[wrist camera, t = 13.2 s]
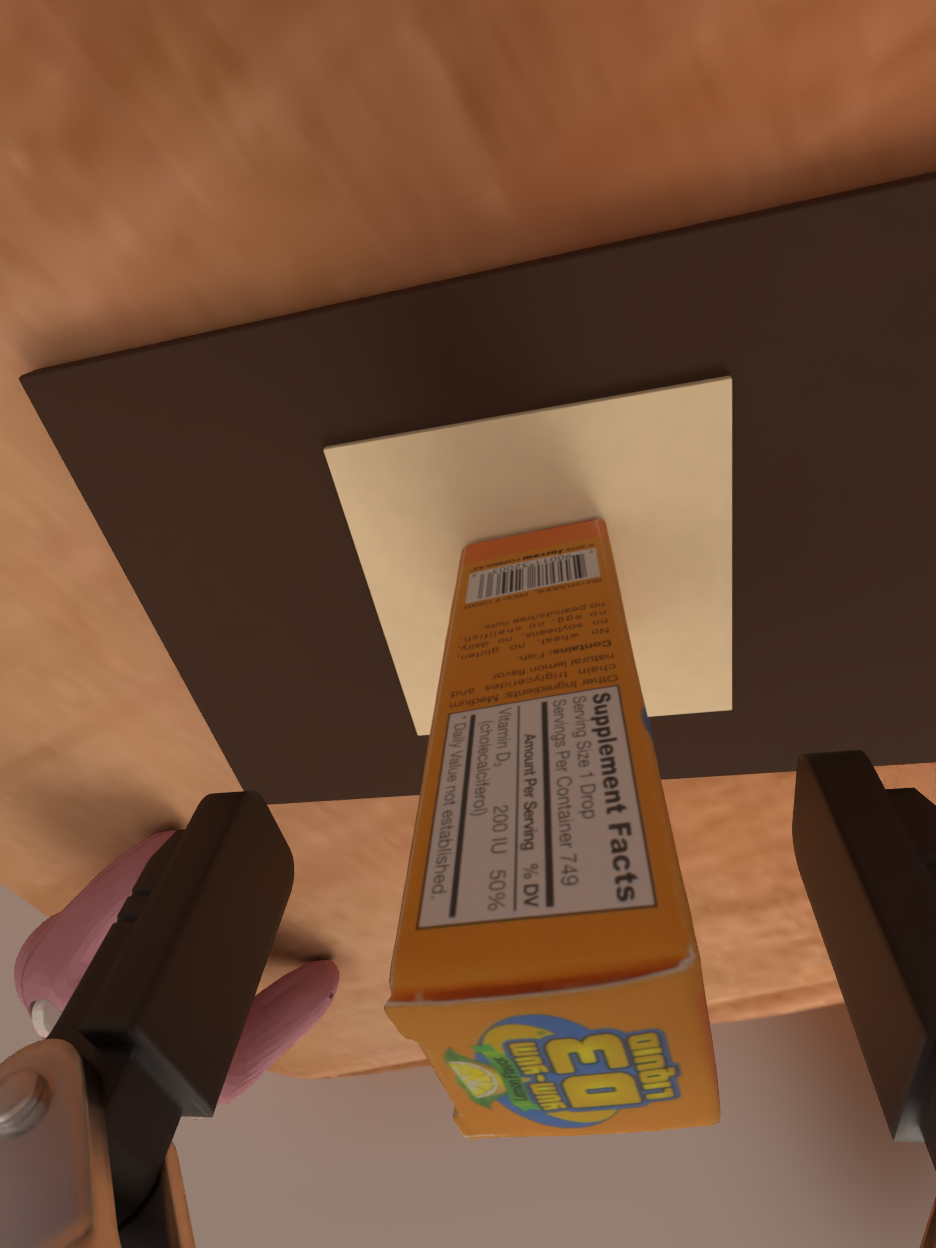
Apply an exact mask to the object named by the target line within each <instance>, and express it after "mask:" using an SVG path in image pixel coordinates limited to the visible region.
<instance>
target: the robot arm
mask: <svg viewBox="0 0 936 1248" xmlns="http://www.w3.org/2000/svg"><path fill="white" fill-rule="evenodd" d="M792 836H793V845H794V851H795V856H796V861H797V865H798V868H799V872H800V875H801V878H802V880H803V883H804V886H805V889H806V892H807V895H808V898H809V900H810V903H811V906H812V909H813V912H814V915H815V918H816V921H817V923H818V926H819V929H820V932H821V935H822V938H823V941H824V943H825V946H826V949H827V952H828V955H829V958H830V961H831V964H832V966H833V969H834V972H835V975H836V978H837V981H838V984H839V986H840V989H841V992H842V995H843V998H844V1001H845V1004H846V1006H847V1009H848V1012H849V1015H850V1018H851V1021H852V1024H853V1026H854V1029H855V1032H856V1035H857V1038H858V1041H859V1044H860V1047H861V1050H862V1052H863V1055H864V1058H865V1061H866V1064H867V1067H868V1069H869V1072H870V1075H871V1078H872V1081H873V1084H874V1087H875V1090H876V1092H877V1095H878V1098H879V1101H880V1104H881V1107H882V1109H883V1112H884V1115H885V1118H886V1121H887V1124H888V1127H889V1130H890V1132H891V1136H892V1138H893V1141H911V1142H925V1144H926V1146H927V1149H928V1151H929V1154H930V1157H931V1160H932V1162H933V1165H934V1167H935V1170H936V806H935V805H934V804H933V803H932V802H931V801H929V800H928V799H927V798H926V797H925V796H923V795H922V794H921V793H920V792H919V791H918V790H916V789H915V788H899V789H885V788H884V786H883V784H882V782H881V780H880V778H879V776H878V774H877V773H876V771H875V769H874V767H873V765H872V763H871V761H870V760H869V758H868V756H867V755H866V754H865V753H864V752H863V751H861V750H849V751H835V752H821V753H807V754H801V755H800V756H799V758H798V763H797V774H796V786H795V798H794V810H793V822H792ZM293 880H294V861H293V856H292V853H291V850H290V848H289V846H288V844H287V842H286V840H285V838H284V836H283V835H282V833H281V831H280V829H279V827H278V825H277V823H276V821H275V819H274V818H273V816H272V814H271V812H270V810H269V808H268V806H267V804H266V802H265V800H264V799H263V797H262V796H261V795H260V793H258V792H257V791H243V792H228V793H214V794H209V795H207V796H205V797H204V798H203V799H202V800H201V802H200V803H199V805H198V807H197V809H196V811H195V812H194V814H193V816H192V818H191V820H190V822H189V824H188V825H187V827H186V829H183V830H176V831H175V832H174V833H173V835H172V836H171V837H170V838H169V839H168V840H167V841H166V842H165V843H164V844H163V845H162V846H161V847H160V848H159V849H158V850H157V851H156V852H155V853H154V854H153V855H152V856H151V857H150V858H149V860H148V862H147V864H146V866H145V867H144V869H143V871H142V873H141V874H140V876H139V878H138V880H137V881H136V883H135V885H134V887H133V889H132V895H131V896H128V897H127V899H126V901H125V903H124V904H123V906H122V908H121V910H120V911H119V913H118V915H117V922H116V923H113V924H112V926H111V927H110V929H109V931H108V933H107V934H106V936H105V938H104V940H103V941H102V943H101V945H100V947H99V949H98V950H97V952H96V954H95V956H94V957H93V959H92V961H91V963H90V964H89V966H88V968H87V970H86V972H85V973H84V975H83V977H82V979H81V980H80V982H79V984H78V986H77V987H76V989H75V991H74V993H73V994H72V996H71V998H70V1000H69V1002H68V1003H67V1005H66V1007H65V1009H64V1010H63V1012H62V1014H61V1016H60V1017H59V1019H58V1021H57V1023H56V1024H55V1026H54V1027H53V1029H52V1031H51V1032H50V1034H49V1035H48V1036H47V1038H46V1039H45V1040H41V1041H38V1042H35V1043H32V1044H30V1045H28V1046H26V1047H24V1048H22V1049H20V1050H18V1051H17V1052H15V1053H14V1054H12V1055H11V1056H10V1057H8V1058H7V1059H6V1060H4V1062H2V1063H1V1064H0V1248H196V1247H195V1242H194V1237H193V1232H192V1226H191V1221H190V1216H189V1211H188V1206H187V1200H186V1195H185V1190H184V1185H183V1180H182V1175H181V1169H180V1165H179V1159H178V1154H177V1151H176V1147H175V1146H174V1144H173V1142H172V1139H173V1136H174V1134H175V1130H176V1128H177V1126H178V1123H179V1120H180V1118H181V1116H186V1117H213V1114H214V1111H215V1108H216V1105H217V1102H218V1099H219V1097H220V1094H221V1091H222V1088H223V1085H224V1082H225V1079H226V1077H227V1074H228V1071H229V1068H230V1065H231V1062H232V1059H233V1056H234V1054H235V1051H236V1048H237V1045H238V1042H239V1039H240V1036H241V1034H242V1031H243V1028H244V1025H245V1022H246V1019H247V1016H248V1013H249V1011H250V1008H251V1005H252V1002H253V999H254V996H255V993H256V991H257V988H258V985H259V982H260V979H261V976H262V973H263V971H264V968H265V965H266V962H267V959H268V956H269V953H270V950H271V948H272V945H273V942H274V939H275V936H276V933H277V930H278V928H279V925H280V922H281V919H282V916H283V913H284V910H285V907H286V905H287V902H288V899H289V896H290V893H291V890H292V886H293ZM920 1248H936V1198H935V1201H934V1204H933V1207H932V1210H931V1214H930V1218H929V1220H928V1223H927V1226H926V1230H925V1233H924V1236H923V1240H922V1243H921V1246H920Z"/></svg>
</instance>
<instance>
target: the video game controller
mask: <svg viewBox="0 0 936 1248" xmlns="http://www.w3.org/2000/svg"><path fill="white" fill-rule="evenodd" d="M174 832H175V830H171V831H165V832H161V833H157V834H155V835H153V836H151V837H148V838H147V839H145V840H143V841H141V842H140V843H138V844H136V845H135V846H133V847H132V848H130V849H129V850H128V851H126V852H125V853H123V854H122V855H121V856H119V857H118V858H117V859H116V860H114V861H113V862H112V863H111V864H110V865H108V866H107V867H106V868H105V869H104V870H102V871H101V872H100V873H99V874H98V875H97V876H96V877H95V878H94V879H93V880H92V881H91V882H90V883H89V884H88V885H87V886H86V887H85V888H84V889H83V890H82V891H81V892H80V893H79V894H78V895H77V896H76V897H75V898H74V899H73V900H72V901H71V902H70V903H69V904H68V905H67V906H66V907H65V908H64V909H63V910H62V911H61V912H59V913H57V914H55V915H53V916H51V917H50V918H49V919H47V920H46V921H44V922H43V923H42V924H41V925H40V926H39V927H38V928H36V929H35V930H34V931H33V933H32V934H31V935H30V936H29V937H28V939H27V940H26V941H25V943H24V944H23V946H22V947H21V949H20V952H19V954H18V956H17V959H16V963H15V968H14V980H15V986H16V991H17V993H18V995H19V998H20V999H21V1001H22V1003H23V1005H24V1006H25V1008H26V1010H27V1011H28V1013H29V1015H30V1017H31V1019H32V1022H33V1024H34V1027H35V1029H36V1031H37V1033H38V1034H39V1035H40V1036H41V1037H42V1039H43V1040H45V1039H46V1038H47V1036H48V1035H49V1034H50V1032H51V1031H52V1029H53V1027H54V1026H55V1024H56V1023H57V1021H58V1019H59V1017H60V1016H61V1014H62V1012H63V1010H64V1009H65V1007H66V1005H67V1003H68V1002H69V1000H70V998H71V996H72V994H73V993H74V991H75V989H76V987H77V986H78V984H79V982H80V980H81V979H82V977H83V975H84V973H85V972H86V970H87V968H88V966H89V964H90V963H91V961H92V959H93V957H94V956H95V954H96V952H97V950H98V949H99V947H100V945H101V943H102V941H103V940H104V938H105V936H106V934H107V933H108V931H109V929H110V927H111V926H112V924H113V923H116V922H117V915H118V913H119V911H120V910H121V908H122V906H123V904H124V903H125V901H126V899H127V897H128V896H131V895H132V889H133V887H134V885H135V883H136V881H137V880H138V878H139V876H140V874H141V873H142V871H143V869H144V867H145V866H146V864H147V862H148V860H149V858H150V857H151V856H152V855H153V854H154V853H155V852H156V851H157V850H158V849H159V848H160V847H161V846H162V845H163V844H164V843H165V842H166V841H167V840H168V839H169V838H170V837H171V836H172V835H173V833H174ZM338 983H339V971H338V968H337V966H336V965H335V964H334V963H333V962H332V961H330V960H319V961H314V962H310V963H307V964H305V965H303V966H301V967H299V968H297V969H295V970H293V971H291V972H290V973H288V974H286V975H284V976H283V977H281V978H280V979H278V980H277V981H276V982H274V983H273V984H271V985H270V986H268V987H267V988H266V989H264V990H263V991H261V992H260V993H259V994H257V995H256V996H255V997H254V999H253V1002H252V1005H251V1008H250V1011H249V1013H248V1016H247V1019H246V1022H245V1025H244V1028H243V1031H242V1034H241V1036H240V1039H239V1042H238V1045H237V1048H236V1051H235V1054H234V1056H233V1059H232V1062H231V1065H230V1068H229V1071H228V1074H227V1077H226V1079H225V1082H224V1085H223V1088H222V1091H221V1094H220V1097H219V1099H218V1102H217V1105H216V1106H218V1105H223V1104H228V1103H230V1102H232V1101H233V1100H235V1099H236V1098H237V1097H238V1096H240V1095H241V1094H242V1093H243V1092H244V1091H246V1090H247V1089H248V1088H249V1087H250V1086H251V1085H252V1084H253V1083H254V1082H255V1081H256V1080H257V1079H258V1078H259V1077H260V1076H261V1075H262V1074H263V1073H264V1072H265V1071H266V1070H267V1069H268V1068H269V1067H270V1066H271V1065H272V1064H273V1063H274V1062H275V1061H277V1060H278V1059H279V1058H280V1057H281V1056H282V1055H283V1054H284V1053H285V1052H286V1051H287V1050H289V1049H290V1048H291V1047H292V1046H293V1045H294V1044H295V1043H296V1042H297V1041H298V1040H299V1039H301V1038H302V1037H303V1036H304V1035H305V1034H306V1033H307V1032H308V1031H309V1030H310V1029H311V1028H312V1027H313V1026H314V1025H315V1024H316V1023H317V1022H318V1021H319V1020H320V1019H321V1018H322V1016H323V1015H324V1014H325V1012H326V1010H327V1009H328V1007H329V1005H330V1003H331V1002H332V1000H333V998H334V996H335V993H336V991H337V987H338ZM189 1118H190V1119H193V1120H199V1119H202V1118H204V1117H189Z"/></svg>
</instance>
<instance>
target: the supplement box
mask: <svg viewBox="0 0 936 1248" xmlns="http://www.w3.org/2000/svg"><path fill="white" fill-rule="evenodd" d="M389 983H390V988H391V997H390V998H389V1000H388V1001H387V1003H386V1004H385V1006H384V1010H385V1012H386V1014H387V1015H388V1017H389V1018H390V1020H391V1021H392V1023H393V1024H394V1025H395V1027H396V1028H397V1030H398V1031H399V1032H400V1033H401V1034H402V1035H403V1036H404V1037H405V1038H406V1039H410V1040H413V1041H415V1042H416V1043H417V1044H418V1045H419V1046H420V1047H421V1049H422V1051H423V1052H424V1054H425V1055H426V1057H427V1059H428V1060H429V1062H430V1064H431V1066H432V1067H433V1069H434V1071H435V1073H436V1075H437V1077H438V1078H439V1080H440V1082H441V1083H442V1085H443V1087H444V1088H445V1090H446V1092H447V1093H448V1095H449V1097H450V1099H451V1100H452V1102H453V1104H454V1112H453V1118H454V1121H455V1123H456V1124H457V1125H458V1127H459V1130H460V1132H461V1134H462V1135H463V1136H464V1137H465V1138H466V1139H478V1138H499V1137H525V1136H574V1135H595V1134H615V1133H629V1132H643V1131H659V1130H667V1129H677V1128H685V1127H699V1126H711V1125H715V1124H717V1123H718V1122H719V1119H720V1099H719V1090H718V1080H717V1071H716V1063H715V1056H714V1049H713V1042H712V1035H711V1029H710V1022H709V1016H708V1010H707V1004H706V997H705V991H704V984H703V977H702V970H701V960H700V955H699V951H698V946H697V942H696V937H695V933H694V928H693V922H692V917H691V912H690V907H689V903H688V899H687V895H686V891H685V887H684V883H683V879H682V875H681V870H680V866H679V861H678V856H677V852H676V847H675V843H674V838H673V833H672V829H671V824H670V820H669V815H668V810H667V806H666V801H665V797H664V792H663V787H662V783H661V778H660V774H659V769H658V764H657V759H656V754H655V749H654V744H653V739H652V734H651V729H650V724H649V719H648V715H647V711H646V707H645V703H644V699H643V695H642V690H641V686H640V681H639V677H638V672H637V668H636V664H635V659H634V655H633V650H632V645H631V640H630V636H629V631H628V626H627V622H626V617H625V612H624V607H623V602H622V597H621V591H620V586H619V582H618V577H617V572H616V567H615V562H614V558H613V553H612V549H611V544H610V540H609V535H608V531H607V526H606V522H605V521H604V520H603V519H602V518H592V519H587V520H584V521H578V522H573V523H569V524H564V525H559V526H555V527H551V528H546V529H541V530H537V531H533V532H529V533H524V534H520V535H515V536H510V537H506V538H501V539H495V540H490V541H485V542H480V543H475V544H470V545H466V546H465V547H464V548H463V549H462V551H461V556H460V562H459V568H458V574H457V580H456V586H455V590H454V595H453V600H452V606H451V612H450V618H449V624H448V630H447V635H446V639H445V647H444V653H443V659H442V665H441V671H440V677H439V683H438V688H437V695H436V701H435V707H434V713H433V718H432V724H431V730H430V736H429V742H428V748H427V754H426V760H425V767H424V773H423V779H422V786H421V792H420V798H419V804H418V810H417V815H416V821H415V827H414V833H413V840H412V845H411V851H410V857H409V863H408V870H407V876H406V882H405V887H404V892H403V899H402V905H401V911H400V917H399V924H398V930H397V935H396V941H395V946H394V951H393V957H392V962H391V969H390V980H389Z"/></svg>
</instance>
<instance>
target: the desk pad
mask: <svg viewBox="0 0 936 1248" xmlns="http://www.w3.org/2000/svg"><path fill="white" fill-rule="evenodd" d="M19 380H20V382H21V384H22V386H23V388H24V390H25V391H26V393H27V395H28V397H29V399H30V401H31V402H32V404H33V406H34V408H35V410H36V412H37V413H38V415H39V417H40V419H41V421H42V423H43V424H44V426H45V428H46V430H47V432H48V434H49V435H50V437H51V439H52V441H53V443H54V445H55V446H56V448H57V450H58V452H59V454H60V455H61V457H62V459H63V461H64V463H65V465H66V466H67V468H68V470H69V472H70V474H71V476H72V477H73V479H74V481H75V483H76V485H77V487H78V488H79V490H80V492H81V494H82V496H83V498H84V499H85V501H86V503H87V505H88V507H89V509H90V510H91V512H92V514H93V516H94V518H95V520H96V521H97V523H98V525H99V527H100V529H101V530H102V532H103V534H104V536H105V538H106V540H107V541H108V543H109V545H110V547H111V549H112V551H113V552H114V554H115V556H116V558H117V560H118V562H119V563H120V565H121V567H122V569H123V571H124V573H125V574H126V576H127V578H128V580H129V582H130V584H131V585H132V587H133V589H134V591H135V593H136V595H137V596H138V598H139V600H140V602H141V604H142V605H143V607H144V609H145V611H146V613H147V615H148V616H149V618H150V620H151V622H152V624H153V626H154V627H155V629H156V631H157V633H158V635H159V637H160V638H161V640H162V642H163V644H164V646H165V648H166V649H167V651H168V653H169V655H170V657H171V659H172V660H173V662H174V664H175V666H176V668H177V670H178V671H179V673H180V675H181V677H182V679H183V680H184V682H185V684H186V686H187V688H188V690H189V691H190V693H191V695H192V697H193V699H194V701H195V702H196V704H197V706H198V708H199V710H200V712H201V713H202V715H203V717H204V719H205V721H206V723H207V724H208V726H209V728H210V730H211V732H212V734H213V735H214V737H215V739H216V741H217V743H218V744H219V746H220V748H221V750H222V752H223V754H224V755H225V757H226V759H227V761H228V763H229V765H230V766H231V768H232V770H233V772H234V774H235V776H236V777H237V779H238V781H239V783H240V785H241V787H242V788H243V790H244V791H257V792H258V793H260V795H261V796H262V797H263V799H264V800H265V802H266V804H267V805H268V804H284V803H299V802H315V801H331V800H347V799H363V798H378V797H394V796H410V795H420V792H421V786H422V779H423V773H424V767H425V760H426V754H427V748H428V742H429V736H430V730H431V724H432V718H433V713H434V707H435V701H436V695H437V688H438V683H439V677H440V671H441V665H442V659H443V653H444V647H445V639H446V635H447V630H448V624H449V618H450V612H451V606H452V600H453V595H454V590H455V586H456V580H457V574H458V568H459V562H460V556H461V551H462V549H463V548H464V547H465V546H466V545H470V544H475V543H480V542H485V541H490V540H495V539H501V538H506V537H510V536H515V535H520V534H524V533H529V532H533V531H537V530H541V529H546V528H551V527H555V526H559V525H564V524H569V523H573V522H578V521H584V520H587V519H592V518H602V519H603V520H604V521H605V522H606V526H607V531H608V535H609V540H610V544H611V549H612V553H613V558H614V562H615V567H616V572H617V577H618V582H619V586H620V591H621V597H622V602H623V607H624V612H625V617H626V622H627V626H628V631H629V636H630V640H631V645H632V650H633V655H634V659H635V664H636V668H637V672H638V677H639V681H640V686H641V690H642V695H643V699H644V703H645V707H646V711H647V715H648V719H649V724H650V729H651V734H652V739H653V744H654V749H655V754H656V759H657V764H658V769H659V774H660V778H661V780H663V779H679V778H694V777H710V776H726V775H742V774H758V773H774V772H789V771H797V763H798V758H799V756H800V755H801V754H807V753H821V752H835V751H849V750H861V751H863V752H864V753H865V754H866V755H867V756H868V758H869V760H870V761H871V763H872V765H873V766H884V765H900V764H916V763H932V762H936V172H933V173H928V174H924V175H919V176H915V177H910V178H906V179H901V180H897V181H892V182H888V183H883V184H878V185H874V186H869V187H865V188H860V189H856V190H851V191H847V192H842V193H838V194H833V195H828V196H824V197H819V198H815V199H810V200H806V201H801V202H797V203H792V204H788V205H783V206H778V207H774V208H769V209H765V210H760V211H756V212H751V213H747V214H742V215H738V216H733V217H728V218H724V219H719V220H715V221H710V222H706V223H701V224H697V225H692V226H688V227H683V228H678V229H674V230H669V231H665V232H660V233H656V234H651V235H647V236H642V237H638V238H633V239H629V240H624V241H619V242H615V243H610V244H606V245H601V246H597V247H592V248H588V249H583V250H579V251H574V252H569V253H565V254H560V255H556V256H551V257H547V258H542V259H538V260H533V261H529V262H524V263H519V264H515V265H510V266H506V267H501V268H497V269H492V270H488V271H483V272H479V273H474V274H469V275H465V276H460V277H456V278H451V279H447V280H442V281H438V282H433V283H429V284H424V285H419V286H415V287H410V288H406V289H401V290H397V291H392V292H388V293H383V294H379V295H374V296H370V297H365V298H360V299H356V300H351V301H347V302H342V303H338V304H333V305H329V306H324V307H320V308H315V309H310V310H306V311H301V312H297V313H292V314H288V315H283V316H279V317H274V318H270V319H265V320H260V321H256V322H251V323H247V324H242V325H238V326H233V327H229V328H224V329H220V330H215V331H210V332H206V333H201V334H197V335H192V336H188V337H183V338H179V339H174V340H170V341H165V342H160V343H156V344H151V345H147V346H142V347H138V348H133V349H129V350H124V351H120V352H115V353H111V354H106V355H101V356H97V357H92V358H88V359H83V360H79V361H74V362H70V363H65V364H61V365H56V366H51V367H47V368H42V369H38V370H34V371H32V372H29V373H27V374H24V375H22V376H20V378H19Z"/></svg>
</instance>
